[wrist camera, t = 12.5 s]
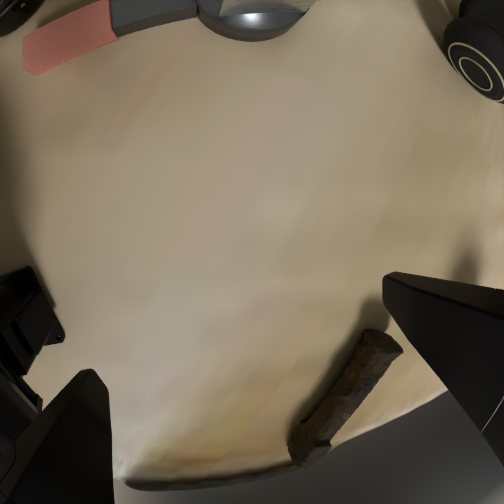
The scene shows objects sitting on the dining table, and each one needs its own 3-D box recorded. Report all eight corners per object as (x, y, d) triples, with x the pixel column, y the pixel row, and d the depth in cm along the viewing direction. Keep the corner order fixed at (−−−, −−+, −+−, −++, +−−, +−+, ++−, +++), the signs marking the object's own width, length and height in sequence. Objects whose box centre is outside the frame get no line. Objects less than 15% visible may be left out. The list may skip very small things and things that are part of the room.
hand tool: (360, 321, 24) (388, 352, 20) (387, 329, 25) (414, 356, 21) (267, 445, 28) (277, 476, 24) (295, 445, 30) (306, 474, 26)
